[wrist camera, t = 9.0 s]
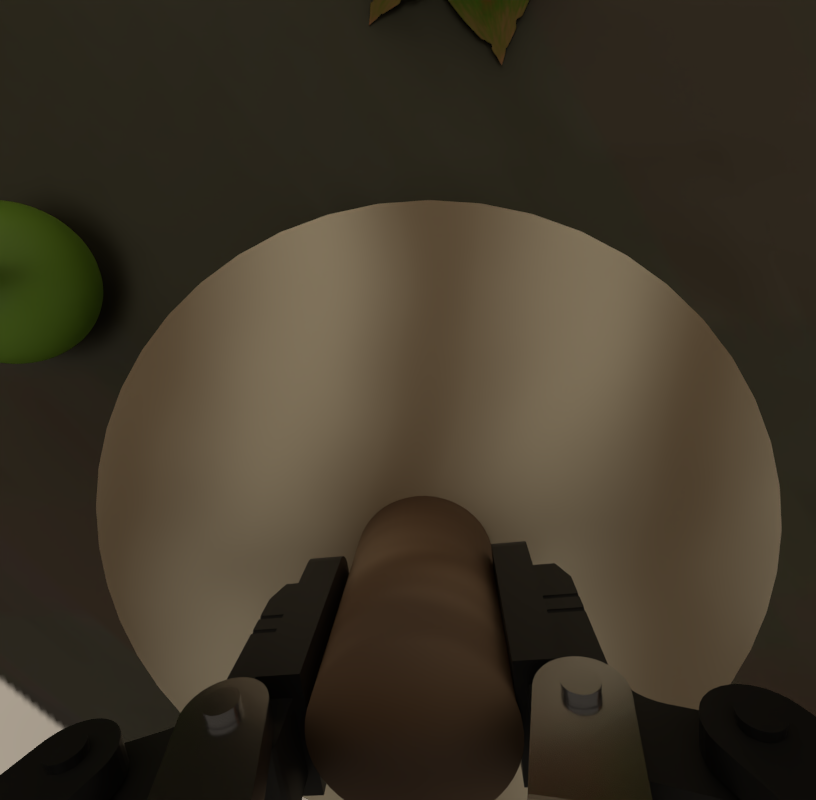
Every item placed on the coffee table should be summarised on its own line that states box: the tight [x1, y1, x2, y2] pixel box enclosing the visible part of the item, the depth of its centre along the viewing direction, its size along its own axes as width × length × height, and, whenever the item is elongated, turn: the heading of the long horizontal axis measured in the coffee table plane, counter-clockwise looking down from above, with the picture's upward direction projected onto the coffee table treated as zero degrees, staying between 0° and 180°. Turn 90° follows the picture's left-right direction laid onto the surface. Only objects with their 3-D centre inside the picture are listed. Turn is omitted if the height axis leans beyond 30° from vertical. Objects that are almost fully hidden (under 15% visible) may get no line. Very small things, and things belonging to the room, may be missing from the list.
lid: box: [96, 200, 782, 800], centre depth 11 cm, size 16×16×6 cm
